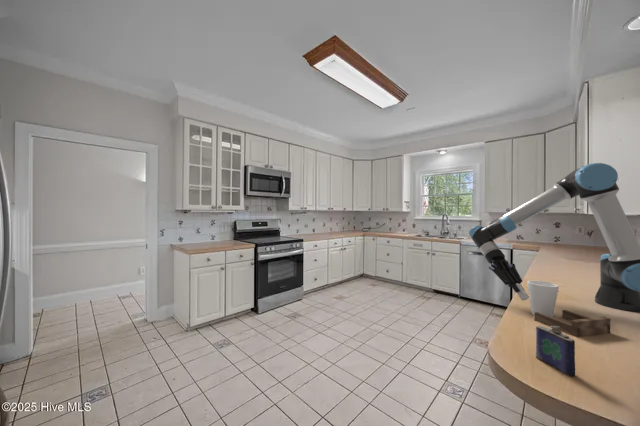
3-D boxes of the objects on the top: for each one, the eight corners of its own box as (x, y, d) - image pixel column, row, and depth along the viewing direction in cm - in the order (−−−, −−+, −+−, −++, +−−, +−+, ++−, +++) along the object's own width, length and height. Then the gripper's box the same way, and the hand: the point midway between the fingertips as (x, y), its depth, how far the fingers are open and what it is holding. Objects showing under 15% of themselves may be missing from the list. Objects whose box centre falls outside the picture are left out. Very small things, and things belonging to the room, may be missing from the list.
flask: (533, 356, 72) (533, 319, 72) (542, 356, 72) (542, 318, 72) (569, 377, 63) (570, 334, 63) (579, 377, 63) (580, 333, 63)
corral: (565, 317, 100) (565, 304, 100) (610, 333, 87) (610, 318, 87) (534, 320, 97) (534, 307, 97) (576, 337, 84) (576, 321, 84)
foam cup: (564, 321, 96) (564, 287, 96) (537, 319, 98) (537, 286, 98) (546, 312, 106) (546, 281, 106) (521, 310, 107) (521, 279, 107)
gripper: (498, 257, 128) (531, 302, 111) (476, 257, 125) (507, 303, 109) (508, 248, 122) (544, 293, 106) (485, 248, 120) (519, 295, 103)
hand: (525, 298), depth 107 cm, fingers closed
